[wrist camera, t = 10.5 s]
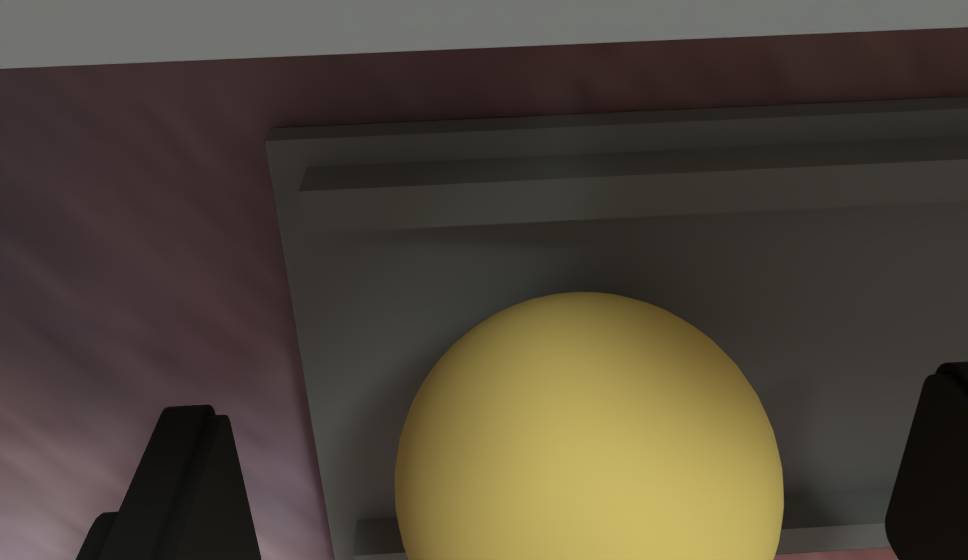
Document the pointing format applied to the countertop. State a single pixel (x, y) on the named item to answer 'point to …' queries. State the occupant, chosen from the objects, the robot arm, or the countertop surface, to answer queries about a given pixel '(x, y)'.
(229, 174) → the countertop surface
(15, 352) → the countertop surface
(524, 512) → the mustard ball
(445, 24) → the grey double box
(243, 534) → the robot arm
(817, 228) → the mat
